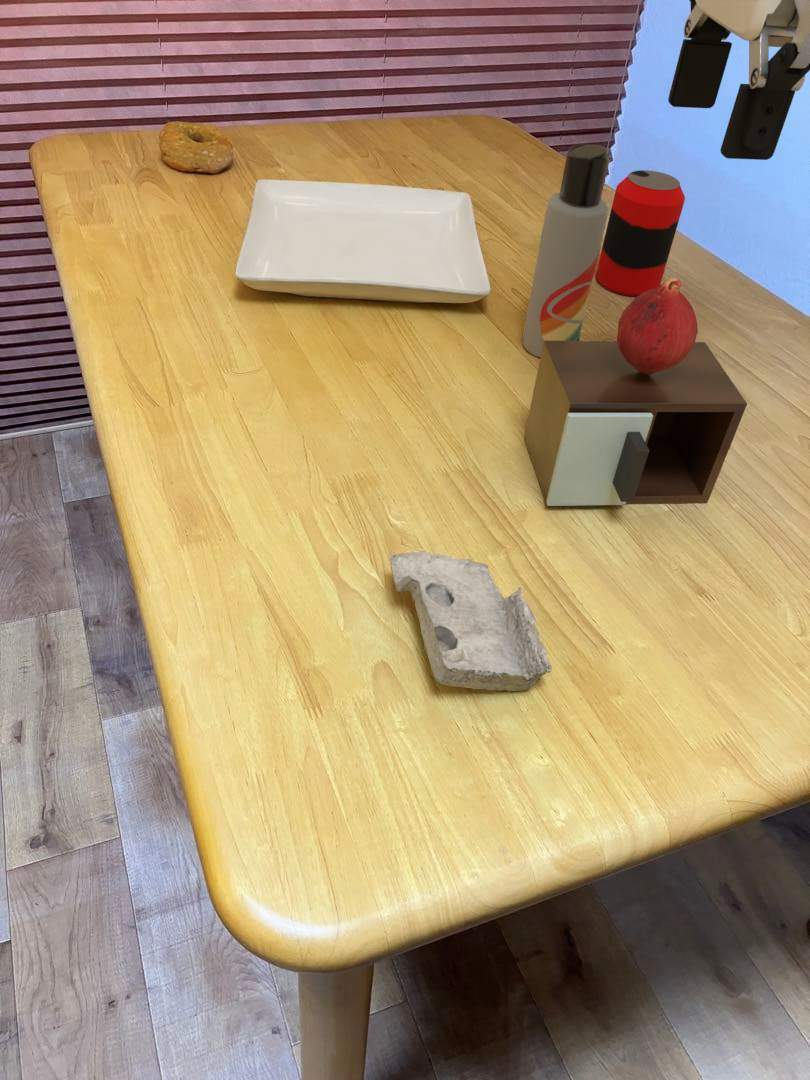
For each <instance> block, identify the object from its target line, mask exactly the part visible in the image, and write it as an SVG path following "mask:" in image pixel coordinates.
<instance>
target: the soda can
mask: <svg viewBox="0 0 810 1080" xmlns="http://www.w3.org/2000/svg"><path fill="white" fill-rule="evenodd" d="M614 191H615V192H614V196H613V199H612V204H611V207H610V213H609V217H608V220H607V221H608V222H607V224H606V225H607V226H606V228H605V229H606V230H605V234H604V237H603V243H602V247H601V250H600V251H601V252H600V255H599V258H598V259H599V260H598V264H597V268H596V272H595V277H596V280H597V281H598V283H599V284H600V285H601V286H602V287H603V288H605V289H606V290H607V291H610V292H612V293H615V294H618V295H621V296H626V297H638V296H639V295H640V294H642V293H644V292H645V291H647V290H650V289H654V288H657V287H659V286H660V285H662V281H663V277H664V274H665V270H666V266H667V263H668V260H669V256H670V253H671V249H672V246H673V243H674V240H675V236H676V233H677V229H678V224H679V222H680V219H681V215H682V211H683V209H684V205H685V201H686V196H685V194H684V191H683V189H682V186H681V182H680V181H679V180H678V179H677V178H676V177H674V176H672V175H670V174H668V173H664V172H660V171H657V170H656V171H655V170H649V169H648V170H647V169H646V170H645V169H641V170H634V171H631V172H629V173H628V175H627V176H626V177H625V178H623V179H622V180H621V181H620V182H619V183H618V184H617V185H616V187H615V190H614Z"/></svg>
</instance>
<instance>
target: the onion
mask: <svg viewBox="0 0 810 1080" xmlns="http://www.w3.org/2000/svg"><path fill="white" fill-rule="evenodd" d="M682 287H683V284H682V281H681V280H680V279H679V278H678V277H668V278H667V279H666V280H665V281H664V282H662V283H661V284H660V286H659V287H657V288H654V289H650V290H647V291H645V292H644V293H642V294H640V295H639V296H635V298H634V299H633V300H632V301H631V302H630V303H628V304H627V306H626V307H625V309H624V310H623V311H622V313H621V316H620V317H619V319H618V323H617V335H616V341H617V343H618V347H619V350H620V352H621V353H622V355H623V356H624V358H625V359H626V361H627V362H628V363H629V364H630V365H631V366H632V367H634V368H635V369H636V370H638V371H639V372H640V373H642V374H645V375H650V374H653V373H655V372H659V371H662V370H665V369H667V368H670V367H672V366H674V365H676V364H678V363H680V362H681V361H682V360H683V359H684V358H685V357H686V356H687V355H688V353H689V352H690V350H691V348H692V347H693V345H694V343H695V342H697V336H698V332H699V331H698V321H697V317H696V313H695V310H694V308H693V306H692V303H690V301H689V300H688V299H687V298H686V296H685V295H684V294H683V293H682V292H681V291H680V289H682Z"/></svg>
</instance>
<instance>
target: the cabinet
mask: <svg viewBox="0 0 810 1080" xmlns="http://www.w3.org/2000/svg"><path fill="white" fill-rule="evenodd" d="M531 397H532V398H531V402H530V408H529V413H528V418H527V422H526V423H527V424H526V427H525V433H524V438H523V440H524V443H525V446H526V448H527V451H528V454H529V457H530V460H531V463H532V466H533V469H534V472H535V476H536V478H537V481H538V484H539V487H540V489H541V493H542V496H543V499H544V501H545V504H546V505H547V503H546V501H547V497H548V493H549V488H550V484H551V480H552V476H553V472H554V467H555V463H556V459H557V455H558V450H559V446H560V442H561V438H562V434H563V429H564V425H565V421H566V417H567V413H652V415H653V419H652V422H651V425H650V428H649V431H648V435H647V438H646V441H645V443H646V445H647V447H648V449H649V454H648V457H647V460H646V463H645V466H644V469H643V472H642V475H641V478H640V481H639V484H638V487H637V490H636V493H635V497H634V500H633V502H626V504H625V505H643V504H647V505H648V504H650V505H651V504H655V505H656V504H707V503H709V500H710V498H711V496H712V494H713V490H714V488H715V487H716V486H715V485H716V483H717V480H718V478H719V475H720V474H721V470H722V468H723V466H724V463H725V460H726V458H727V456H728V453H729V450H730V448H731V445H732V443H733V441H734V438H735V436H736V433H737V431H738V428H739V426H740V423H741V420H742V418H743V416H744V413H745V411H746V408H747V406H748V403H747V401H746V400H745V398H744V397H743V395H742V394H741V393H740V391H739V390H738V388H737V387H736V385H735V383H734V382H733V381H732V379H731V378H730V377H729V375H728V373H727V372H726V370H725V369H724V367H723V366H722V364H721V363H720V362H719V360H718V359H717V357H716V356H715V355H714V352H712V350H711V349H710V347H709V346H708V345H707V343H706V342H705V341H695V343H694V345H693V347H692V348H691V350H690V352H689V353H688V355H687V356H686V357H685V358H684V359H683V360H682V361H681V362H680V363H678V364H676V365H674V366H672V367H670V368H667V369H665V370H662V371H659V372H655V373H653V374H650V375H645V374H642V373H640V372H639V371H638V370H636V369H635V368H634V367H632V366H631V365H630V364H629V363H628V362H627V361H626V359H625V358H624V356H623V355H622V353H621V352H620V350H619V347H618V343H617V340H614V341H613V340H579V341H544V342H543V347H542V352H541V357H540V358H539V363H538V368H537V373H536V377H535V383H534V388H533V392H532V396H531Z"/></svg>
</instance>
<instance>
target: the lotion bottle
mask: <svg viewBox="0 0 810 1080" xmlns="http://www.w3.org/2000/svg"><path fill="white" fill-rule="evenodd" d="M610 161H611V159H610V156H609V154H608V149H607V148H606V147H605V146H602V145H598V144H586V143H582V144H576V145H573V146H572V147H570V148H569V149H568V150H567V153H566V157H565V163H564V169H563V173H562V174H563V175H562V179H561V184H560V185H561V186H560V191H559V192H557V193H554V194H552V195H551V196H550V197H549V198H548V200H547V204H546V209H545V214H544V219H543V225H542V230H541V235H540V241H539V246H538V250H537V251H538V252H537V258H536V263H535V269H534V273H533V280H532V284H531V290H530V295H529V300H528V306H527V312H526V317H525V323H524V329H523V335H522V346H523V347H524V349H525V350H526V351H527V352H528V353H529V354H531V355H533V356H534V357H537V358H539V359H540V357H541V352H542V347H543V342H544V341H580V337H581V332H582V327H583V324H584V319H585V315H586V312H587V311H586V310H587V307H588V303H589V302H588V301H589V298H590V294H591V290H592V285H593V281H594V277H595V273H596V272H595V271H596V269H597V268H596V267H597V265H598V264H597V263H598V259H599V256H600V255H599V254H600V251H601V245H602V240H603V239H604V235H605V234H604V233H605V229H606V225H607V221H608V220H607V219H608V215H609V205H608V203H607V202H605V200H604V199H602V194H603V190H604V185H605V180H606V178H607V173H608V169H609V165H610Z"/></svg>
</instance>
